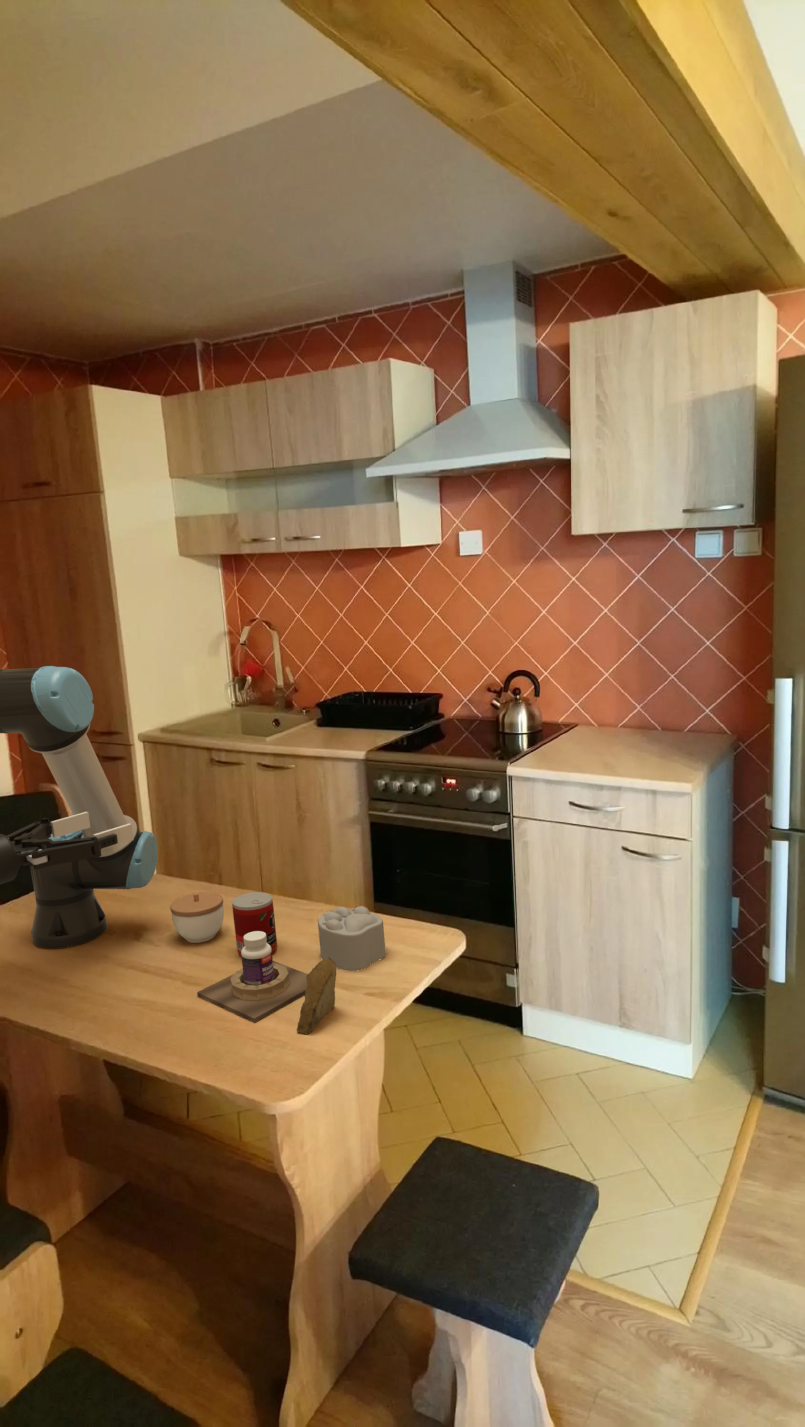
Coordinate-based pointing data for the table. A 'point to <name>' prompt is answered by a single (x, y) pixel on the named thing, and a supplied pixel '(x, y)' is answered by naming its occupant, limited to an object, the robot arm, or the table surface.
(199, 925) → the lidded jar
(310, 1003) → the rock
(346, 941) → the lumpy-topped squat cylinder
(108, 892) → the table surface
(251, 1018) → the ring plate
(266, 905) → the canned food
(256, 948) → the pill bottle
